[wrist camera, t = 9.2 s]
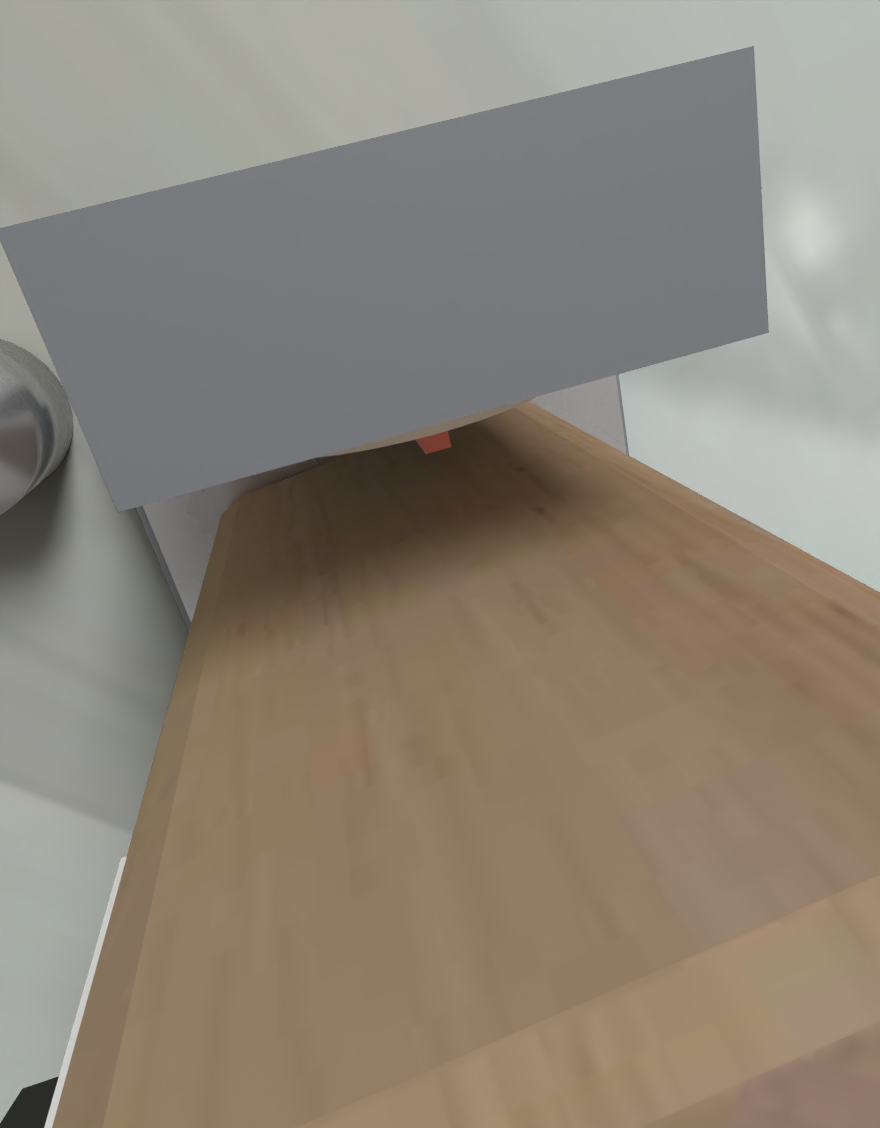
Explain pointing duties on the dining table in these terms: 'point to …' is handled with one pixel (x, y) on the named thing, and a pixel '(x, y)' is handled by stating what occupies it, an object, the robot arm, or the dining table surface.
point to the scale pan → (196, 515)
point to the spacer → (29, 423)
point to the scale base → (402, 280)
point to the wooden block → (501, 813)
